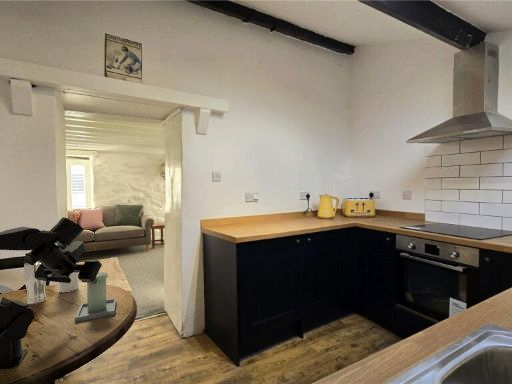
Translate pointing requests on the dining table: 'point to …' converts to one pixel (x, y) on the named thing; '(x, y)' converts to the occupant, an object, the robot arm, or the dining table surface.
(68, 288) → the white milk bottle
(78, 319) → the tray
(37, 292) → the beer glass
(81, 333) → the dining table surface
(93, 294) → the sage green mushroom knob
